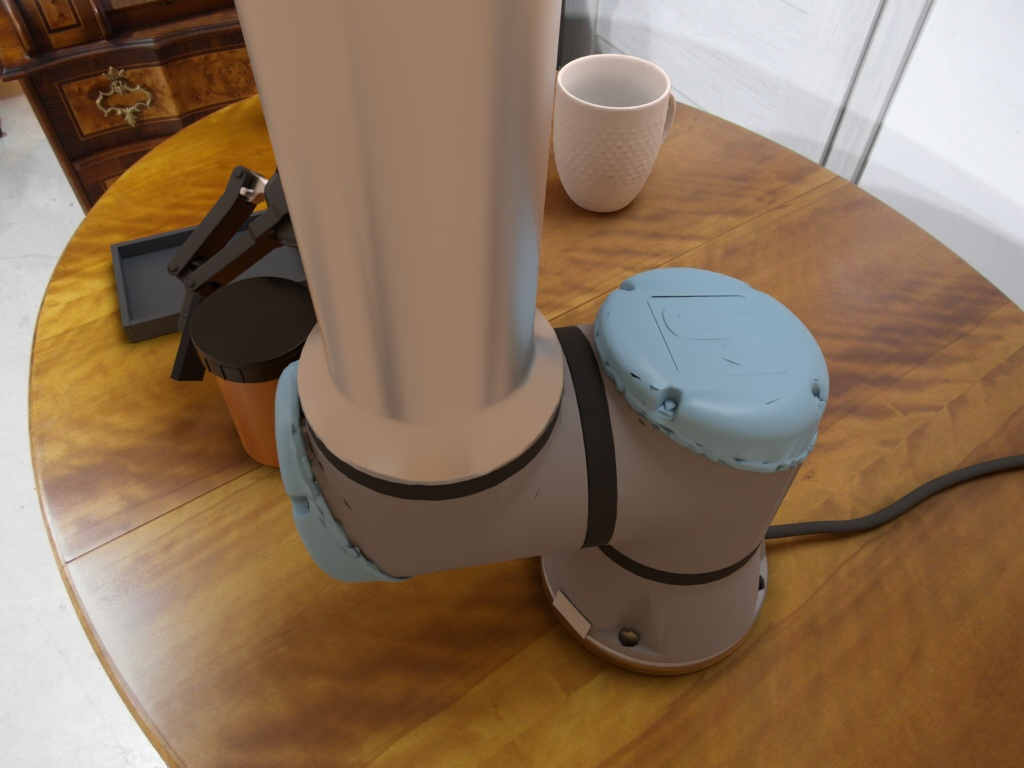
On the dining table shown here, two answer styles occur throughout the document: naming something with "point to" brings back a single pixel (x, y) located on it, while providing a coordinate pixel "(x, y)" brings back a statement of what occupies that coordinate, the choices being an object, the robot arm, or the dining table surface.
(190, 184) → the dining table surface
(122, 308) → the tray
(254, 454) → the jar
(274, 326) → the jar lid
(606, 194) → the mug
